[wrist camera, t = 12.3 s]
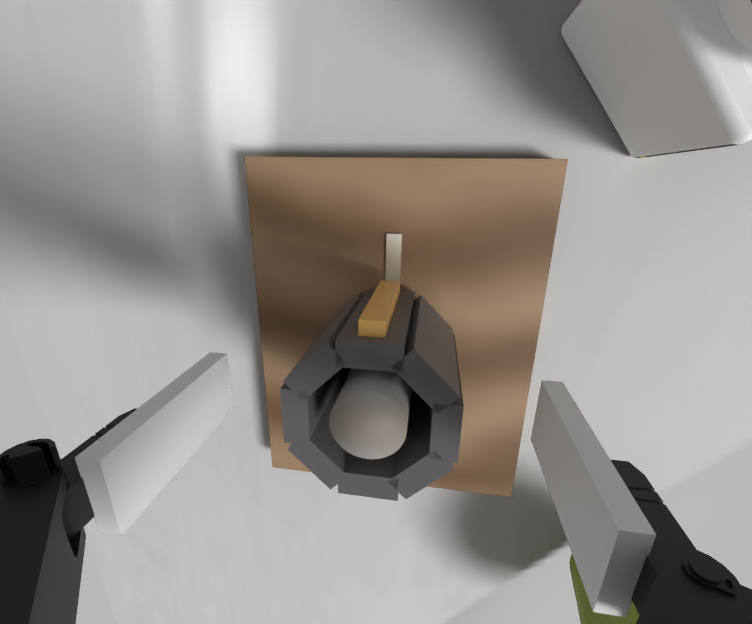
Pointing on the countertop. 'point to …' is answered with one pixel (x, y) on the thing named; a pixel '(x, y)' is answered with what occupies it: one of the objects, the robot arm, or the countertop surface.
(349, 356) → the knob
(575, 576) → the plant pot
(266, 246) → the board
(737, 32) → the medicine bottle
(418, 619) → the countertop surface
